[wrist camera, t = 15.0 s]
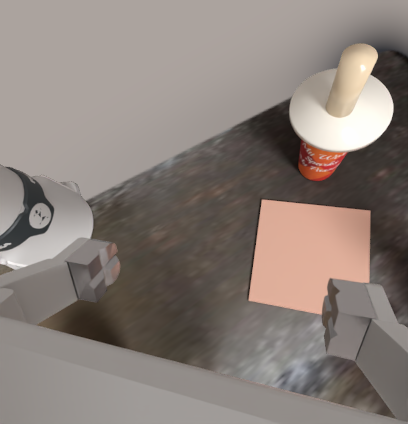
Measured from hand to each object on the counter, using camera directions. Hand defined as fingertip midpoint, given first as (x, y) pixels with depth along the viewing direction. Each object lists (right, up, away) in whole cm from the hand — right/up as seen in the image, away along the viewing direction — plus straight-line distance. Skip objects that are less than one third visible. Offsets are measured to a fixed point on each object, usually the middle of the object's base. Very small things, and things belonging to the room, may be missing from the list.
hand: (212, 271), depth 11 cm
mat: (+15, -4, +31) cm, 35 cm away
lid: (+15, +14, +22) cm, 31 cm away
